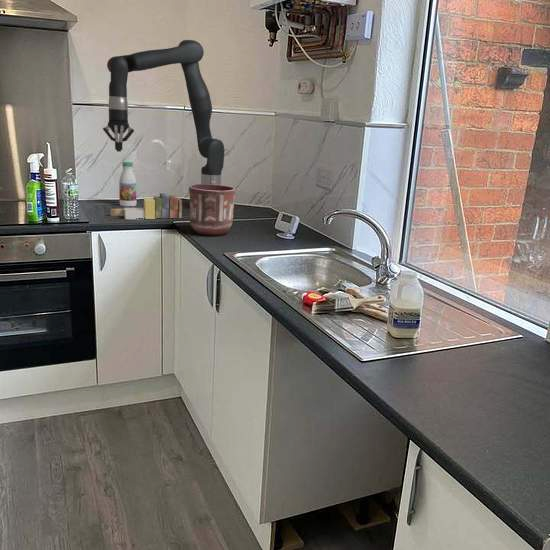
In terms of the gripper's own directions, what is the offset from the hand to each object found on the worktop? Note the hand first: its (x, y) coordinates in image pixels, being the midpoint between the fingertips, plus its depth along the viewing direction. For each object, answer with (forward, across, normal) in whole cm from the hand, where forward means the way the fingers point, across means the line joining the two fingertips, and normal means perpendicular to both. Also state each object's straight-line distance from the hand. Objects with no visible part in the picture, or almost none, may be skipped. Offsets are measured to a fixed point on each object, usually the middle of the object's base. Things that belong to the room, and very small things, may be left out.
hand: (118, 151), depth 238 cm
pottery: (+27, +31, -36) cm, 55 cm away
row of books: (+27, +11, -6) cm, 30 cm away
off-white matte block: (+27, +5, -6) cm, 28 cm away
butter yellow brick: (+27, +12, -8) cm, 30 cm away
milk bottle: (+27, +6, +22) cm, 35 cm away
